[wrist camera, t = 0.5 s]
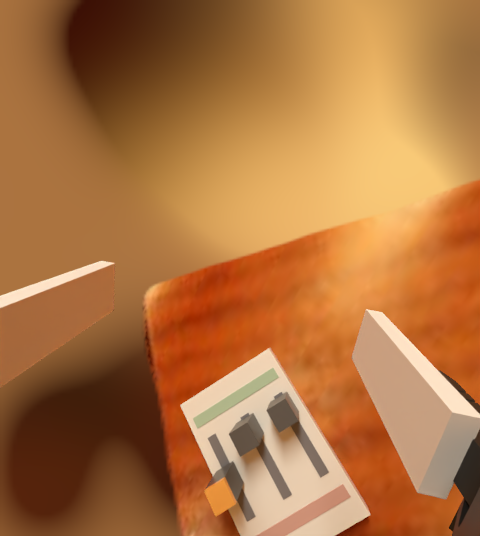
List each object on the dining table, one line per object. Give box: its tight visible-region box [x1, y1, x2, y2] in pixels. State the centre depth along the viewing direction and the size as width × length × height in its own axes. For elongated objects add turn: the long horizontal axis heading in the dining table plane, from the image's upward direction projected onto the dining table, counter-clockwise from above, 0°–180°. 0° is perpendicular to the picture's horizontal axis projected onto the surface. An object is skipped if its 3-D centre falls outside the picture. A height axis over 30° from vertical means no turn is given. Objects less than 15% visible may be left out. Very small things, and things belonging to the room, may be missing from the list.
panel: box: [180, 348, 371, 536], centre depth 39 cm, size 24×17×2 cm
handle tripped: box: [204, 461, 244, 517], centre depth 36 cm, size 3×3×5 cm
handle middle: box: [229, 413, 264, 457], centre depth 37 cm, size 3×3×4 cm
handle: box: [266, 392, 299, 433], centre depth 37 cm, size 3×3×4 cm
